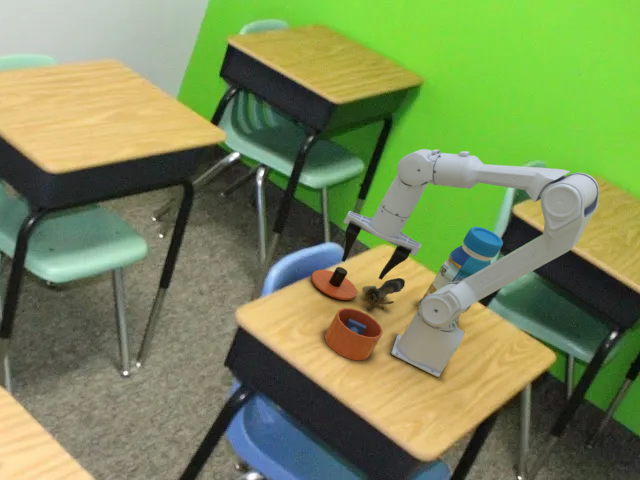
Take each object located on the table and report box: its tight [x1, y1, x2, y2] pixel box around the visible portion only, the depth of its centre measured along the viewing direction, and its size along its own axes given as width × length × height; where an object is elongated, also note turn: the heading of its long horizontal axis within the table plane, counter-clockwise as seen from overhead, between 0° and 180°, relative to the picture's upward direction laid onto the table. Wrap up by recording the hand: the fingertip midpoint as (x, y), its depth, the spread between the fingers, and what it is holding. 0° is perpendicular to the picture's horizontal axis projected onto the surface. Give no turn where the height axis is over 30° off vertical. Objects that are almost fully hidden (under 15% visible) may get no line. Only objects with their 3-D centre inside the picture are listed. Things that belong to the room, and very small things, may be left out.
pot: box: [324, 307, 384, 361], centre depth 174 cm, size 9×9×5 cm
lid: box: [311, 266, 358, 301], centre depth 190 cm, size 10×10×4 cm
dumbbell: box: [345, 318, 366, 335], centre depth 174 cm, size 6×3×3 cm, turn 156°
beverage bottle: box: [418, 226, 504, 321], centre depth 188 cm, size 8×8×20 cm
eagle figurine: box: [361, 277, 406, 311], centre depth 189 cm, size 8×7×9 cm
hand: (362, 268), depth 181 cm, fingers open, 7 cm apart
